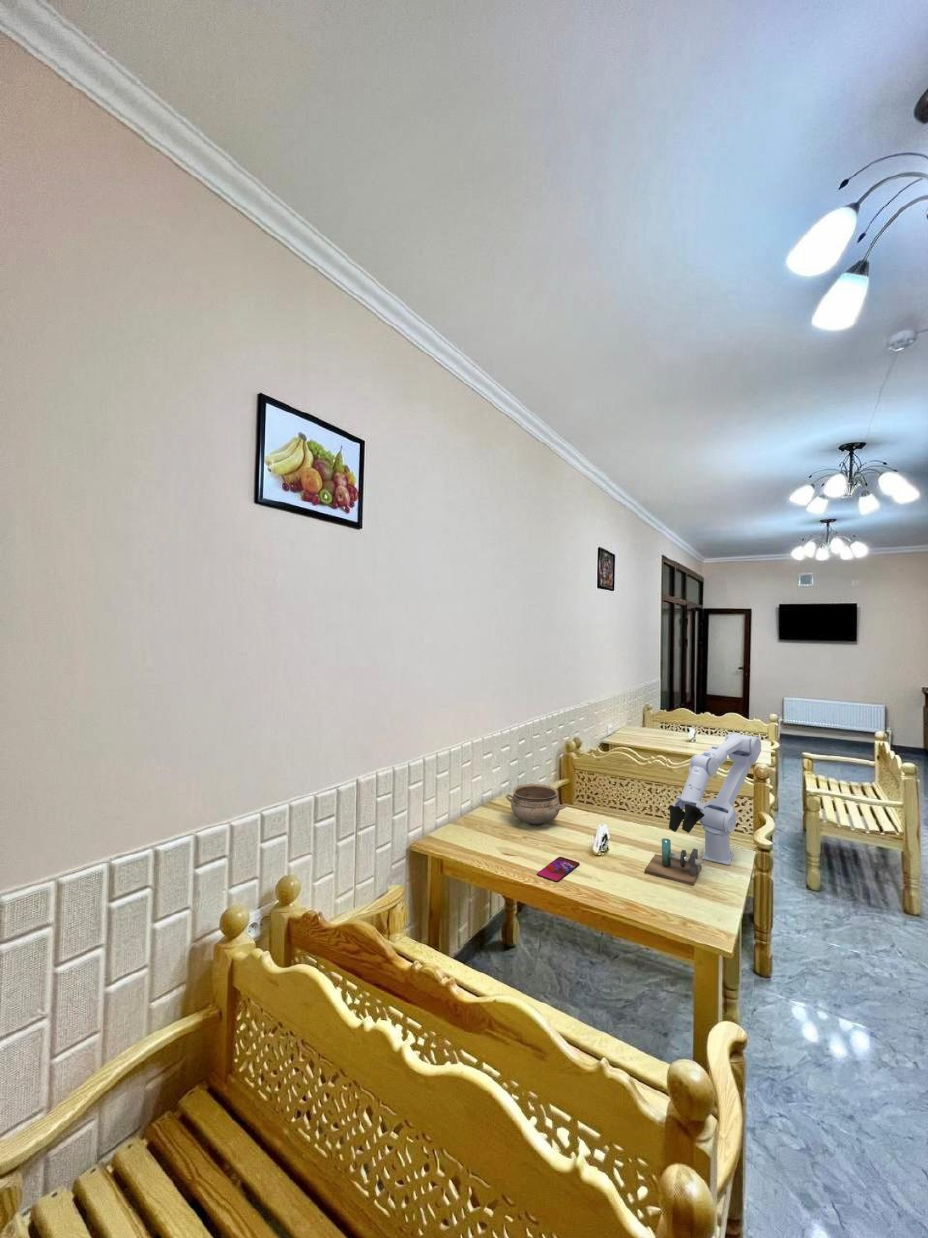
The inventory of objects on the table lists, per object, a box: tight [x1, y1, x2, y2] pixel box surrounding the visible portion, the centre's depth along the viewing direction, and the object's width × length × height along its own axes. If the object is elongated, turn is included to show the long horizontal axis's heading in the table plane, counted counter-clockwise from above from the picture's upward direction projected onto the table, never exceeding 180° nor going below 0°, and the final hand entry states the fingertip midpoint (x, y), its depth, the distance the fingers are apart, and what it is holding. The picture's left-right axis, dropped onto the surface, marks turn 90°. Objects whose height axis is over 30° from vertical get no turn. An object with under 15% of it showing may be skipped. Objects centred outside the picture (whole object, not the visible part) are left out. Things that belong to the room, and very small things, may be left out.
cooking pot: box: [505, 783, 568, 827], centre depth 197 cm, size 25×19×12 cm
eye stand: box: [644, 847, 702, 887], centre depth 158 cm, size 13×14×7 cm
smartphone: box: [536, 856, 580, 883], centre depth 159 cm, size 8×1×15 cm
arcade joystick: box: [661, 837, 703, 868], centre depth 156 cm, size 5×11×8 cm, turn 55°
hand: (678, 830), depth 154 cm, fingers open, 7 cm apart
